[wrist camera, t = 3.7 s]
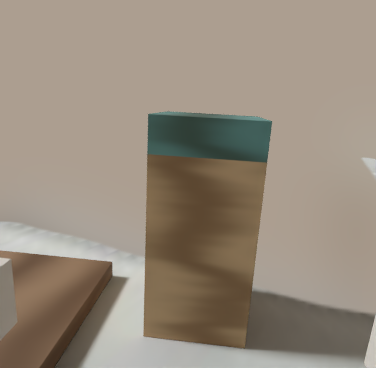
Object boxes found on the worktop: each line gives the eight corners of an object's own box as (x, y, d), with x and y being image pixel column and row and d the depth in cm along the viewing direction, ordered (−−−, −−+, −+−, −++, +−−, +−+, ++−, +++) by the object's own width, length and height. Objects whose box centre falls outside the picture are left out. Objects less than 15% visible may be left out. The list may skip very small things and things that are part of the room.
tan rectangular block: (238, 289, 24) (257, 116, 21) (244, 348, 18) (272, 121, 15) (161, 281, 24) (168, 111, 21) (143, 336, 19) (148, 113, 15)
